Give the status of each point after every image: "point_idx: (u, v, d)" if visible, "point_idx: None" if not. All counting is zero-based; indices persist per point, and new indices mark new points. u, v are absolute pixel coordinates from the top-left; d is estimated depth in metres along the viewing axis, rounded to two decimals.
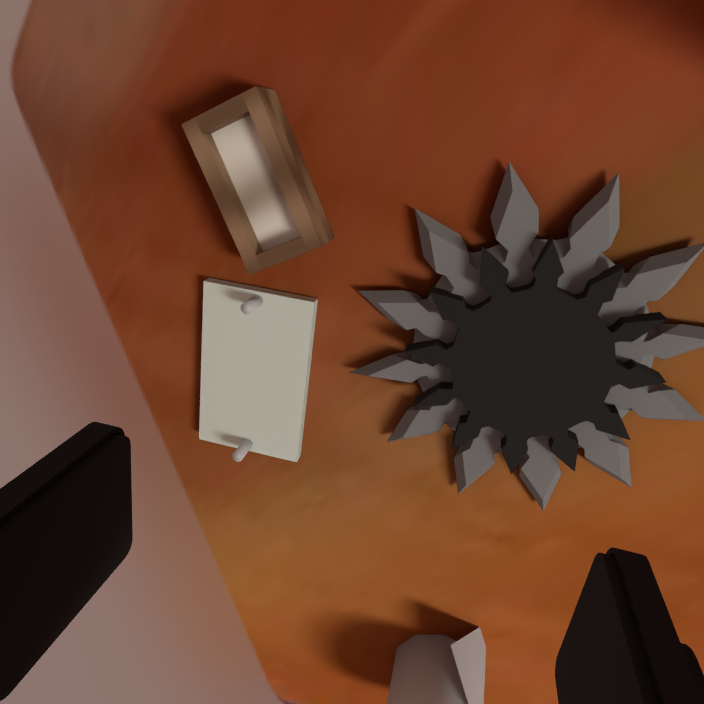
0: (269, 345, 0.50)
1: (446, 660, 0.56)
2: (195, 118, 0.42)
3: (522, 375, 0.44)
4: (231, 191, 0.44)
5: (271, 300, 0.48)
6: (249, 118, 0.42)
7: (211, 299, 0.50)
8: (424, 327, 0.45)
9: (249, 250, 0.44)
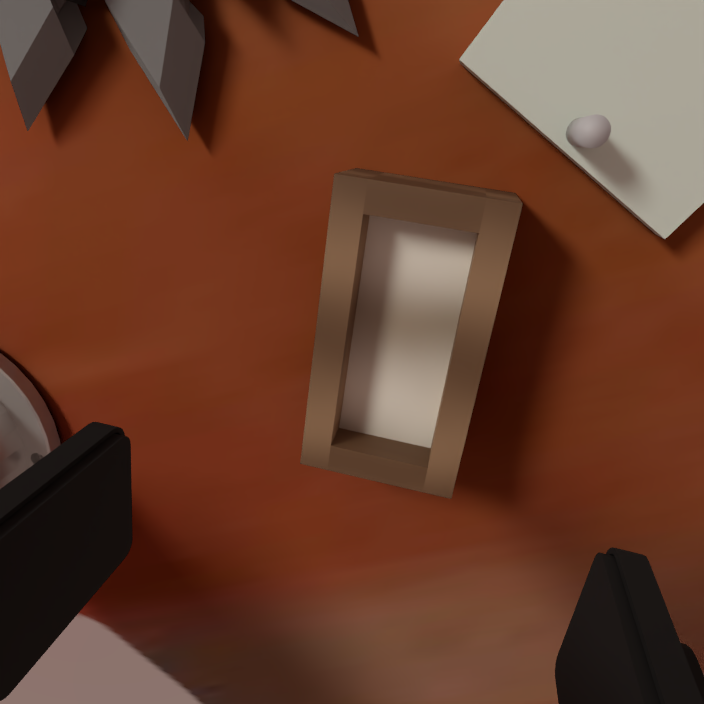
0: (638, 4, 0.19)
1: None
2: (423, 488, 0.24)
3: None
4: (450, 360, 0.22)
5: (549, 114, 0.20)
6: (356, 426, 0.25)
7: (682, 192, 0.20)
8: None
9: (484, 249, 0.20)
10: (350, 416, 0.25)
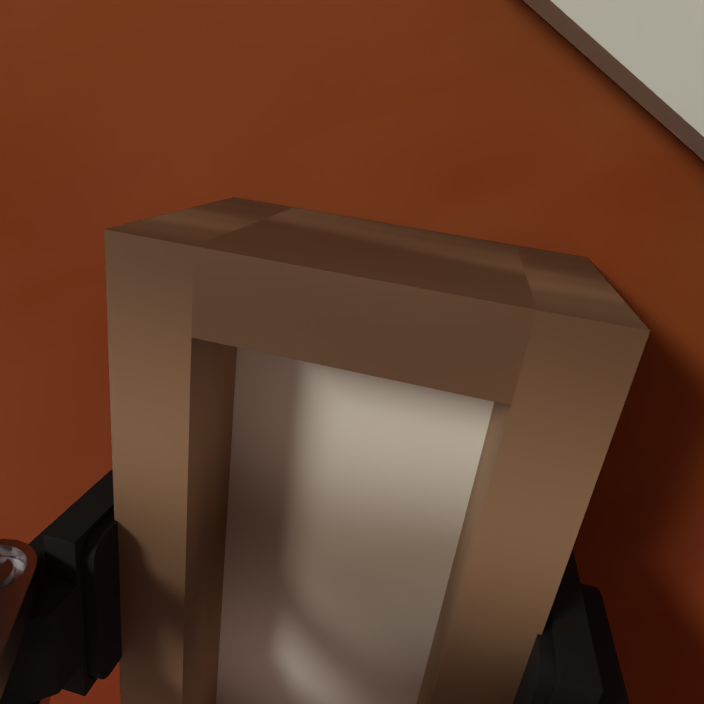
0: None
1: None
2: None
3: None
4: (435, 656, 0.09)
5: (699, 64, 0.07)
6: None
7: None
8: None
9: (527, 448, 0.07)
10: (235, 702, 0.12)
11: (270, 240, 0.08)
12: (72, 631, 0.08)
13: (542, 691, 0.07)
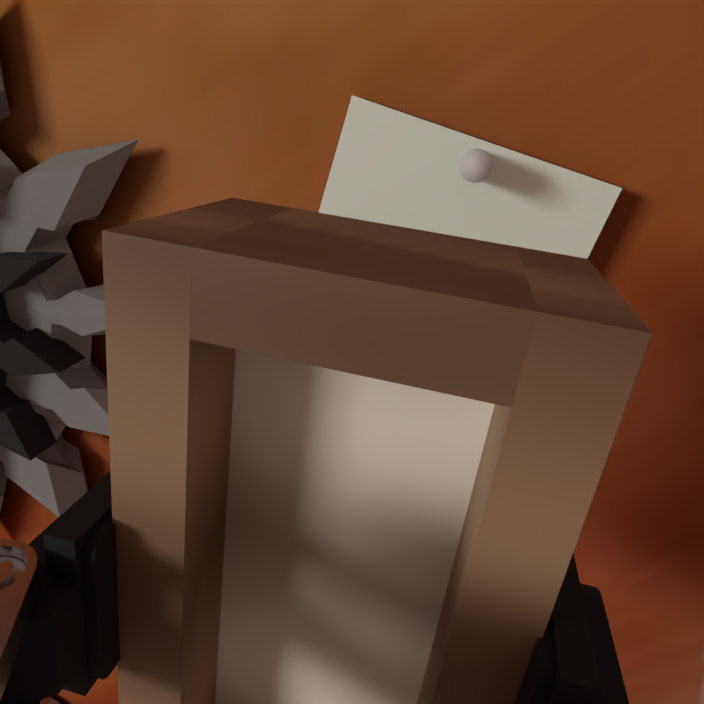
0: None
1: None
2: None
3: None
4: (435, 658, 0.09)
5: None
6: None
7: None
8: (56, 386, 0.26)
9: (528, 451, 0.07)
10: None
11: (269, 241, 0.08)
12: (72, 631, 0.08)
13: (542, 691, 0.07)
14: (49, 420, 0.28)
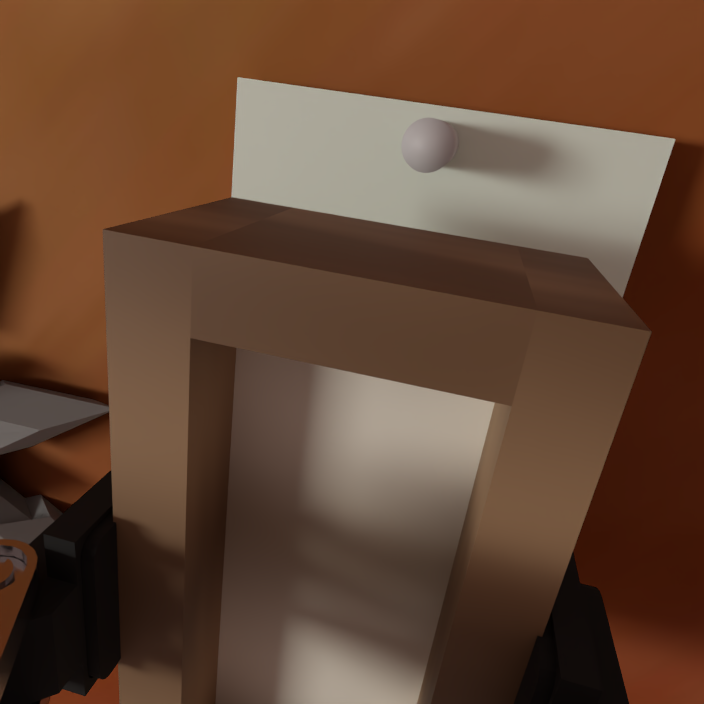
0: None
1: None
2: None
3: None
4: (435, 657, 0.09)
5: None
6: None
7: None
8: None
9: (528, 449, 0.07)
10: (234, 703, 0.12)
11: (269, 240, 0.08)
12: (72, 631, 0.08)
13: (542, 691, 0.07)
14: None
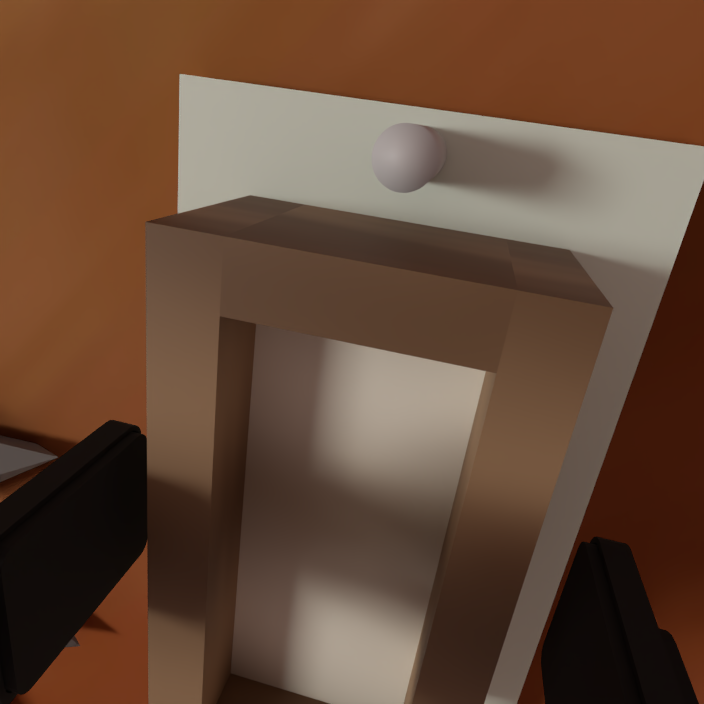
0: None
1: None
2: None
3: None
4: (432, 605, 0.10)
5: None
6: (260, 675, 0.13)
7: None
8: None
9: (510, 411, 0.08)
10: (249, 658, 0.13)
11: (287, 232, 0.09)
12: None
13: None
14: None
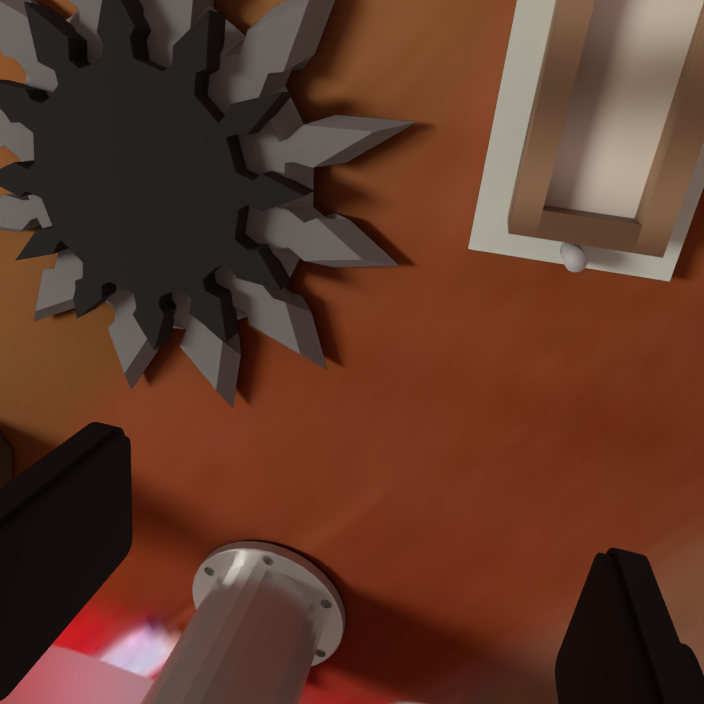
0: None
1: None
2: (633, 250, 0.24)
3: (139, 170, 0.30)
4: (675, 108, 0.23)
5: (543, 249, 0.29)
6: (558, 201, 0.26)
7: None
8: (291, 223, 0.31)
9: None
10: (553, 190, 0.26)
11: None
12: None
13: None
14: (282, 264, 0.32)
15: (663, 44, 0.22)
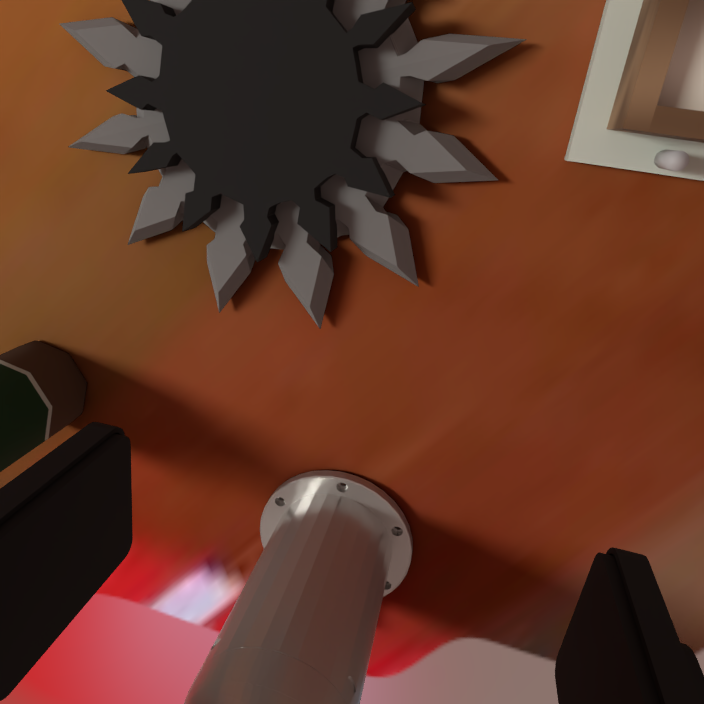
0: None
1: None
2: None
3: (263, 81, 0.32)
4: None
5: (638, 160, 0.31)
6: (665, 103, 0.28)
7: None
8: (401, 136, 0.33)
9: None
10: (661, 93, 0.28)
11: None
12: None
13: None
14: (386, 179, 0.34)
15: None
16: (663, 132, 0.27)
